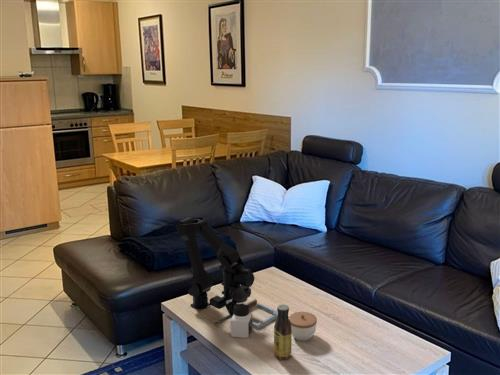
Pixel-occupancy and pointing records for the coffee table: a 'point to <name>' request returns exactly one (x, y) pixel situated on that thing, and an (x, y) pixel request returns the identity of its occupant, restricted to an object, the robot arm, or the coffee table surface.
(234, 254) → the robot arm
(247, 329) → the medicine bottle
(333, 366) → the coffee table surface
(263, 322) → the grey angle bracket
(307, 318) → the lidded jar
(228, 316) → the rail
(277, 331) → the sauce bottle
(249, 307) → the wooden plank
